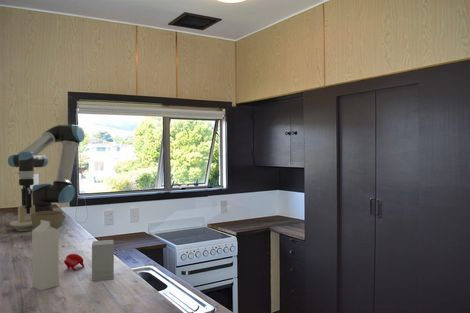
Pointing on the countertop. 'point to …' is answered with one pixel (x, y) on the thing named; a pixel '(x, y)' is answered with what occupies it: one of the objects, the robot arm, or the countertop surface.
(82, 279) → the countertop surface
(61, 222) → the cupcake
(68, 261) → the cap
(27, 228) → the mat
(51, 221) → the planter bowl
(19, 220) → the lid
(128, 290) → the countertop surface
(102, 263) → the supplement box
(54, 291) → the countertop surface
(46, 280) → the milk
